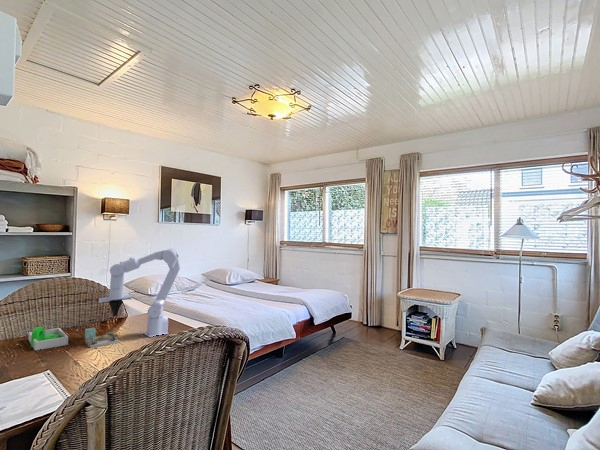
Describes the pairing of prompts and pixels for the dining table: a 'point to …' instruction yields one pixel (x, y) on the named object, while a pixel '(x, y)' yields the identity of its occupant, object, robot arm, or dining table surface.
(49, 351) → the dining table surface
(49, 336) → the mechanical part
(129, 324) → the dining table surface
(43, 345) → the white tray
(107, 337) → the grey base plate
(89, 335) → the sliding leg
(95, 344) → the template plate
